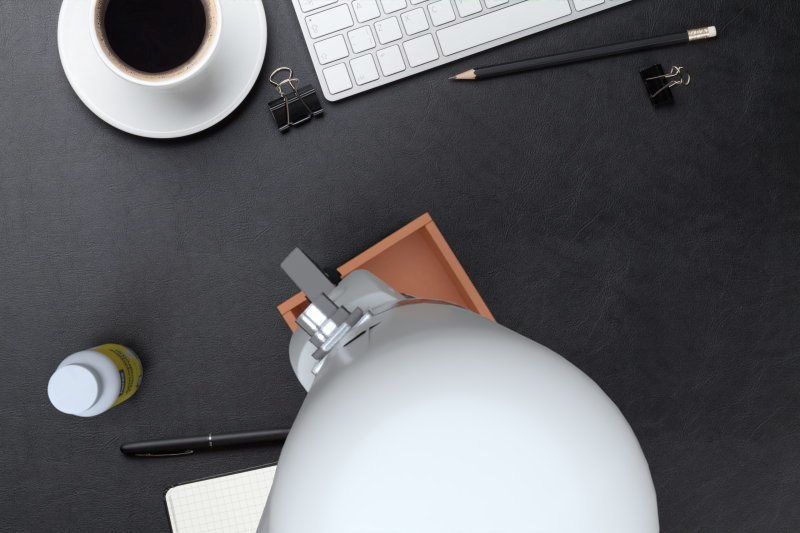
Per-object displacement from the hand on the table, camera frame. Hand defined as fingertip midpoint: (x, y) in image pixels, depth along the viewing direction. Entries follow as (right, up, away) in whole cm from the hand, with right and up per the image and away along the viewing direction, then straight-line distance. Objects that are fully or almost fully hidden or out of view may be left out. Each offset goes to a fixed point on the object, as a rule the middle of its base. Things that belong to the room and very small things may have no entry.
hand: (400, 349), depth 43 cm
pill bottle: (-31, -7, +40) cm, 51 cm away
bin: (0, 0, +17) cm, 17 cm away
